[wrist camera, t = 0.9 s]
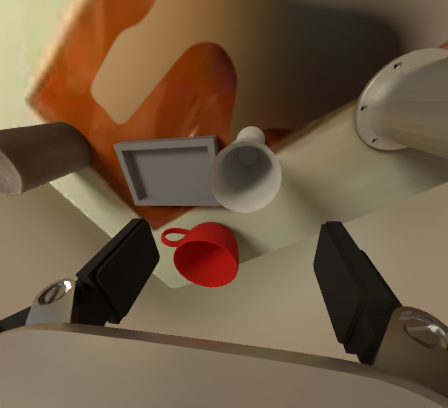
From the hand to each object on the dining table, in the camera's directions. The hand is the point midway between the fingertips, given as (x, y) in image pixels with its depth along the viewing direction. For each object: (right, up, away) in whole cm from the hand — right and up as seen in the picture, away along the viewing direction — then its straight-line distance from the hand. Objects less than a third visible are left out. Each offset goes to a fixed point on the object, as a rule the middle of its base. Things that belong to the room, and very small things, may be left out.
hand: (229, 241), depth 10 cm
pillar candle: (-33, +14, +29) cm, 46 cm away
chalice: (+4, +13, +23) cm, 27 cm away
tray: (-10, +9, +28) cm, 31 cm away
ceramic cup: (-4, -4, +35) cm, 35 cm away
